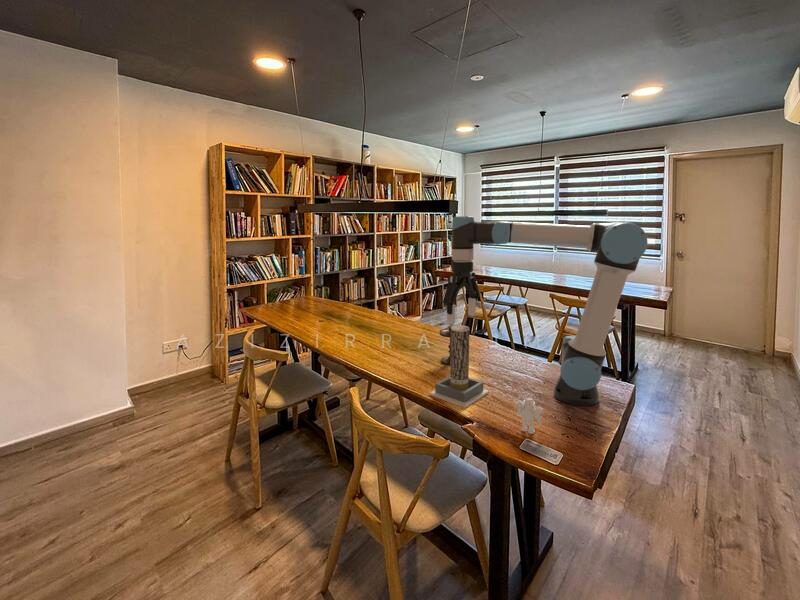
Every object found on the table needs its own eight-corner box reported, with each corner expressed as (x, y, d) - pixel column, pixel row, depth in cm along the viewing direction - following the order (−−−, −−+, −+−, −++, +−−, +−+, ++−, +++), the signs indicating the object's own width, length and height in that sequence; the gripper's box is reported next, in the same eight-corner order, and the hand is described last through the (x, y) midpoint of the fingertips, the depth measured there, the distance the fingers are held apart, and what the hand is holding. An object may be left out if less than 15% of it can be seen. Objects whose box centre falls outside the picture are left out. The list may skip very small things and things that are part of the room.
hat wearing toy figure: (511, 428, 125) (513, 393, 123) (517, 423, 128) (519, 389, 126) (539, 438, 119) (542, 402, 117) (544, 433, 122) (547, 397, 120)
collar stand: (488, 393, 150) (489, 382, 149) (465, 408, 139) (465, 396, 138) (453, 381, 161) (454, 371, 160) (429, 394, 149) (429, 383, 148)
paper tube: (455, 385, 154) (456, 324, 149) (471, 390, 150) (472, 327, 145) (446, 391, 149) (447, 328, 144) (462, 396, 145) (463, 331, 140)
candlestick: (442, 356, 190) (443, 285, 183) (464, 359, 186) (466, 286, 179) (436, 364, 180) (437, 289, 173) (460, 367, 176) (461, 290, 169)
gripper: (472, 257, 151) (471, 311, 155) (432, 263, 133) (432, 324, 137) (489, 258, 146) (488, 314, 150) (450, 264, 128) (450, 328, 132)
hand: (461, 319), depth 144 cm, fingers open, 13 cm apart
